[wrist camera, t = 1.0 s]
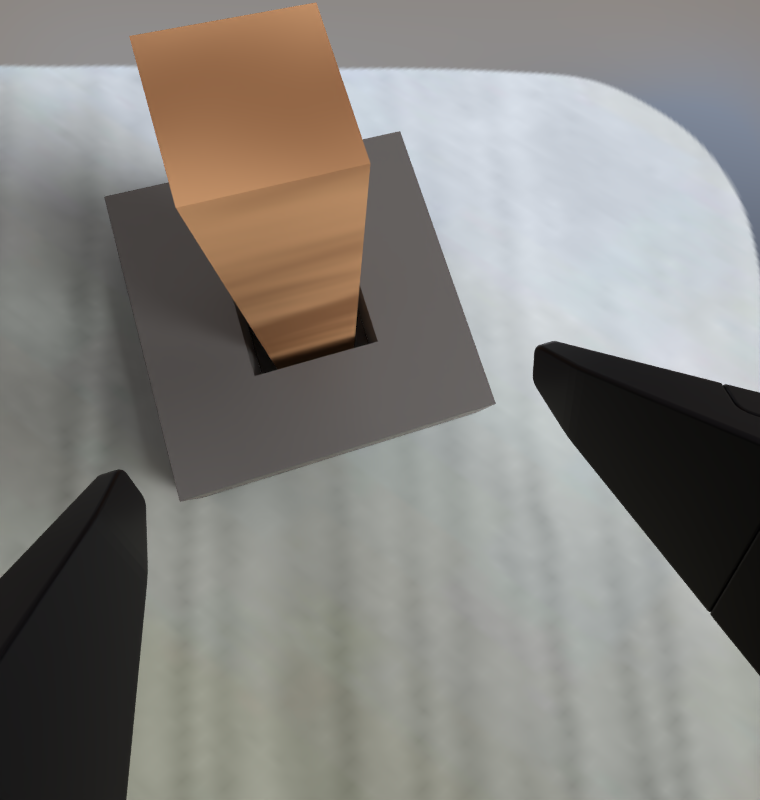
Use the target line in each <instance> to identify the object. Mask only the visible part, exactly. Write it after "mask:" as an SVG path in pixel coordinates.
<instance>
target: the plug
mask: <svg viewBox="0 0 760 800" xmlns="http://www.w3.org/2000/svg"><path fill="white" fill-rule="evenodd" d="M130 40H131V44H132V47H133V52H134V55H135V59H136V62H137V66H138V70H139V74H140V77H141V81H142V85H143V89H144V92H145V96H146V100H147V103H148V107H149V111H150V115H151V118H152V122H153V126H154V129H155V133H156V137H157V140H158V144H159V148H160V152H161V155H162V159H163V163H164V166H165V170H166V174H167V177H168V181H169V185H170V189H171V192H172V196H173V200H174V203H175V207H176V209H177V211H178V212H179V214H180V216H181V217H182V219H183V220H184V222H185V223H186V225H187V227H188V228H189V230H190V231H191V233H192V235H193V236H194V238H195V239H196V241H197V242H198V244H199V246H200V247H201V249H202V250H203V252H204V254H205V255H206V257H207V258H208V260H209V262H210V263H211V265H212V266H213V268H214V269H215V271H216V273H217V274H218V276H219V277H220V279H221V281H222V282H223V284H224V285H225V287H226V289H227V290H228V292H229V293H230V295H231V296H232V298H233V300H234V301H235V303H236V304H237V306H238V308H239V309H240V311H241V312H242V314H243V316H244V317H245V319H246V320H247V322H248V323H249V325H250V327H251V328H252V330H253V331H254V333H255V335H256V336H257V338H258V339H259V341H260V343H261V344H262V346H263V347H264V349H265V350H266V352H267V354H268V355H269V357H270V358H271V360H272V362H273V363H274V365H275V366H276V368H277V370H278V369H282V368H285V367H289V366H292V365H296V364H299V363H303V362H307V361H310V360H314V359H317V358H321V357H324V356H328V355H331V354H335V353H339V352H342V351H346V350H349V349H353V348H354V342H355V331H356V320H357V309H358V297H359V286H360V275H361V264H362V253H363V241H364V230H365V219H366V208H367V197H368V185H369V174H370V160H369V158H368V155H367V152H366V149H365V146H364V143H363V140H362V137H361V134H360V131H359V128H358V125H357V122H356V119H355V116H354V113H353V110H352V107H351V104H350V101H349V98H348V95H347V92H346V89H345V86H344V83H343V81H342V78H341V75H340V72H339V69H338V66H337V63H336V60H335V57H334V54H333V51H332V48H331V45H330V42H329V39H328V36H327V33H326V30H325V27H324V24H323V21H322V18H321V15H320V12H319V10H318V6H317V4H316V3H311V4H306V5H300V6H295V7H289V8H283V9H278V10H273V11H267V12H261V13H255V14H250V15H244V16H239V17H233V18H227V19H222V20H216V21H211V22H205V23H200V24H194V25H189V26H183V27H177V28H172V29H166V30H161V31H155V32H150V33H144V34H139V35H133V36H130Z"/></svg>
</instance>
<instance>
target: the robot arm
mask: <svg viewBox="0 0 760 800" xmlns="http://www.w3.org/2000/svg"><path fill="white" fill-rule="evenodd" d="M533 381H534V384H535V386H536V388H537V389H538V391H539V393H540V394H541V396H542V397H543V399H544V400H545V402H546V404H547V405H548V407H549V408H550V410H551V412H552V413H553V415H554V416H555V418H556V419H557V421H558V423H559V424H560V426H561V427H562V429H563V430H564V432H565V433H566V435H567V436H568V438H569V439H570V440H571V442H572V443H573V444H574V445H575V447H576V448H577V449H578V450H579V452H580V453H581V454H582V455H583V457H584V458H585V459H586V460H587V462H588V463H589V464H590V465H591V467H592V468H593V469H594V470H595V471H596V473H597V474H598V475H599V476H600V478H601V479H602V480H603V481H604V483H605V484H606V485H607V486H608V488H609V489H610V490H611V491H612V493H613V494H614V495H615V496H616V498H617V499H618V500H619V501H620V503H621V504H622V505H623V506H624V507H625V509H626V510H627V511H628V512H629V514H630V515H631V516H632V517H633V519H634V520H635V521H636V522H637V524H638V525H639V526H640V527H641V529H642V530H643V531H644V532H645V534H646V535H647V536H648V537H649V539H650V540H651V541H652V542H653V543H654V545H655V546H656V547H657V548H658V550H659V551H660V552H661V553H662V555H663V556H664V557H665V558H666V560H667V561H668V562H669V563H670V565H671V566H672V567H673V568H674V570H675V571H676V572H677V573H678V575H679V576H680V577H681V578H682V579H683V581H684V582H685V583H686V584H687V586H688V587H689V588H690V589H691V591H692V592H693V593H694V594H695V596H696V597H697V598H698V599H699V601H700V602H701V603H702V604H703V606H704V607H705V608H706V609H707V611H709V612H711V613H710V614H711V616H712V617H713V618H714V620H715V621H716V622H717V623H718V625H719V626H720V627H721V628H722V630H723V631H724V632H725V633H726V635H727V636H728V637H729V638H730V640H731V641H732V642H733V643H734V644H735V646H736V647H737V648H738V649H739V651H740V652H741V653H742V654H743V656H744V657H745V658H746V659H747V661H748V662H749V663H750V664H751V666H752V667H753V668H754V669H755V671H756V672H757V673H758V674H759V675H760V393H759V392H755V391H751V390H747V389H743V388H739V387H735V386H731V385H727V384H725V385H722V384H721V383H719V382H715V381H711V380H707V379H703V378H699V377H695V376H691V375H687V374H683V373H679V372H675V371H671V370H667V369H663V368H659V367H655V366H652V365H648V364H644V363H640V362H636V361H632V360H628V359H624V358H620V357H616V356H612V355H608V354H604V353H600V352H596V351H592V350H588V349H584V348H580V347H576V346H572V345H568V344H565V343H561V342H557V341H551V342H548V343H545V344H541V345H538V346H537V347H536V349H535V352H534V366H533ZM147 575H148V558H147V526H146V504H145V500H144V498H143V496H142V494H141V493H140V491H139V490H138V488H137V487H136V486H135V484H134V483H133V481H132V480H131V479H130V477H129V476H128V475H127V473H126V472H125V471H123V470H119V469H118V470H114V471H111V472H108V473H104V474H101V475H99V476H98V477H97V478H96V479H95V480H94V481H93V482H92V483H91V484H90V485H89V486H88V487H87V488H86V489H85V490H84V491H83V492H82V493H81V494H80V496H79V497H78V498H77V499H76V500H75V501H74V502H73V503H72V504H71V505H70V506H69V507H68V508H67V509H66V510H65V511H64V512H63V513H62V514H61V515H60V516H59V517H58V519H57V520H56V521H55V522H54V523H53V524H52V525H51V526H50V527H49V528H48V529H47V530H46V531H45V532H44V533H43V534H42V535H41V536H40V537H39V538H38V539H37V540H36V542H35V543H34V544H33V545H32V546H31V547H30V548H29V549H28V550H27V551H26V552H25V553H24V554H23V555H22V556H21V557H20V558H19V559H18V560H17V561H16V562H15V563H14V564H13V566H12V567H11V568H10V569H9V570H8V571H7V572H6V573H5V574H4V575H3V576H2V577H1V578H0V800H126V797H127V787H128V776H129V766H130V755H131V745H132V735H133V724H134V714H135V703H136V693H137V682H138V672H139V662H140V651H141V641H142V630H143V620H144V609H145V599H146V589H147Z"/></svg>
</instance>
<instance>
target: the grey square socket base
mask: <svg viewBox="0 0 760 800" xmlns="http://www.w3.org/2000/svg"><path fill="white" fill-rule="evenodd" d="M363 143H364V146H365V149H366V152H367V155H368V158H369V160H370V174H369V185H368V197H367V208H366V219H365V230H364V241H363V253H362V264H361V275H360V286H359V297H358V311H359V314H360V318H361V321H362V324H363V327H364V330H365V333H366V336H367V340H368V343H369V344H367V345H364V346H360V347H356V348H353V349H349V350H346V351H342V352H339V353H335V354H332V355H328V356H324V357H321V358H317V359H314V360H310V361H307V362H303V363H300V364H296V365H292V366H289V367H285V368H282V369H278V370H275V371H271V372H268V373H264V374H262V373H261V369H260V366H259V362H258V359H257V355H256V352H255V348H254V345H253V341H252V337H251V334H250V330H249V327H248V323H247V320H246V319H245V317H244V316H243V314H242V312H241V311H240V309H239V308H238V306H237V304H236V303H235V301H234V300H233V298H232V296H231V295H230V293H229V292H228V290H227V289H226V287H225V285H224V284H223V282H222V281H221V279H220V277H219V276H218V274H217V273H216V271H215V269H214V268H213V266H212V265H211V263H210V262H209V260H208V258H207V257H206V255H205V254H204V252H203V250H202V249H201V247H200V246H199V244H198V242H197V241H196V239H195V238H194V236H193V235H192V233H191V231H190V230H189V228H188V227H187V225H186V223H185V222H184V220H183V219H182V217H181V216H180V214H179V212H178V211H177V209H176V207H175V203H174V200H173V196H172V192H171V189H170V185H169V183H164V184H160V185H155V186H151V187H146V188H142V189H137V190H133V191H128V192H124V193H119V194H115V195H110V196H106V197H105V201H106V205H107V209H108V213H109V217H110V221H111V225H112V229H113V234H114V238H115V242H116V246H117V250H118V254H119V258H120V262H121V266H122V270H123V274H124V278H125V282H126V286H127V290H128V294H129V298H130V302H131V306H132V310H133V314H134V318H135V322H136V326H137V330H138V334H139V339H140V343H141V347H142V351H143V355H144V359H145V363H146V367H147V371H148V375H149V379H150V383H151V387H152V391H153V395H154V399H155V403H156V407H157V411H158V415H159V419H160V423H161V427H162V431H163V435H164V439H165V443H166V448H167V452H168V456H169V460H170V464H171V468H172V472H173V476H174V480H175V484H176V488H177V492H178V496H179V500H180V501H186V500H192V499H198V498H203V497H206V496H209V495H213V494H216V493H219V492H222V491H226V490H229V489H232V488H235V487H238V486H242V485H245V484H248V483H251V482H255V481H258V480H261V479H264V478H267V477H271V476H274V475H277V474H280V473H283V472H287V471H290V470H293V469H296V468H300V467H303V466H306V465H309V464H312V463H316V462H319V461H322V460H325V459H329V458H332V457H335V456H338V455H341V454H345V453H348V452H351V451H354V450H357V449H361V448H364V447H367V446H370V445H374V444H377V443H380V442H383V441H386V440H390V439H393V438H396V437H399V436H403V435H406V434H409V433H412V432H415V431H419V430H422V429H425V428H428V427H431V426H435V425H438V424H441V423H444V422H448V421H451V420H454V419H457V418H460V417H464V416H467V415H470V414H473V413H476V412H479V411H481V410H483V409H485V408H487V407H489V406H492V405H494V404H496V403H495V400H494V397H493V395H492V392H491V389H490V386H489V383H488V380H487V378H486V375H485V372H484V369H483V366H482V363H481V361H480V358H479V355H478V352H477V349H476V346H475V343H474V341H473V338H472V335H471V332H470V329H469V326H468V324H467V321H466V318H465V315H464V312H463V309H462V306H461V304H460V301H459V298H458V295H457V292H456V289H455V287H454V284H453V281H452V278H451V275H450V272H449V269H448V267H447V264H446V261H445V258H444V255H443V252H442V250H441V247H440V244H439V241H438V238H437V235H436V232H435V230H434V227H433V224H432V221H431V218H430V215H429V213H428V210H427V207H426V204H425V201H424V198H423V195H422V193H421V190H420V187H419V184H418V181H417V178H416V176H415V173H414V170H413V167H412V164H411V161H410V158H409V156H408V153H407V150H406V147H405V144H404V141H403V139H402V136H401V133H400V131H399V132H395V133H390V134H386V135H381V136H377V137H372V138H368V139H363Z"/></svg>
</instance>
